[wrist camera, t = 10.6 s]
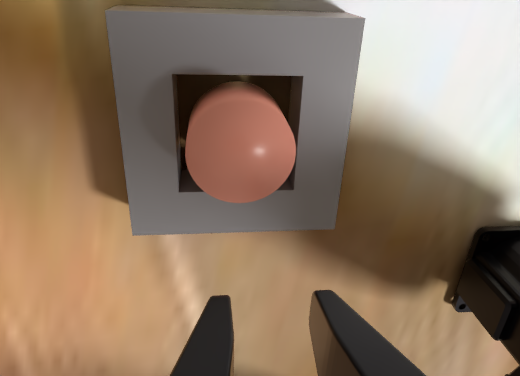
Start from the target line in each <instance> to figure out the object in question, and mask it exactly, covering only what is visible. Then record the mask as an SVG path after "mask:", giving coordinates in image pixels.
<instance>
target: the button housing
mask: <svg viewBox="0 0 520 376" xmlns="http://www.w3.org/2000/svg"><path fill="white" fill-rule="evenodd" d="M105 16H106V24H107V32H108V40H109V48H110V56H111V64H112V72H113V80H114V88H115V97H116V105H117V113H118V121H119V129H120V137H121V145H122V153H123V161H124V170H125V178H126V186H127V194H128V202H129V210H130V218H131V226H132V234H133V236H134V235H165V234H197V233H229V232H261V231H293V230H325V229H335V223H336V216H337V209H338V203H339V196H340V189H341V182H342V175H343V168H344V161H345V154H346V147H347V140H348V133H349V126H350V120H351V113H352V106H353V99H354V92H355V85H356V78H357V71H358V64H359V57H360V50H361V43H362V36H363V30H364V23H365V18H363V17H359V16H356V15H353V14H350V13H347V12H317V11H286V10H255V9H224V8H193V7H162V6H131V5H116V6H114V7H112V8H109V9H107V10H105ZM176 74H204V75H278V76H292V79H291V92H290V106H289V120H288V125H289V127H290V128H291V131H292V133H293V136H294V139H295V145H296V156H295V162H294V165H293V168H292V170H291V173H290V174H289V176H288V178H287V179H286V181H285V182H284V183H283V184H282V185H281V186H280V187H279V188H278V189H277V190H276V191H274V192H273V193H272V194H270V195H268V196H266V197H264V198H262V199H259V200H256V201H253V202H248V203H231V202H226V201H222V200H219V199H216V198H214V197H212V196H210V195H209V194H207V193H206V192H204V191H203V190H202V189H201V188H200V187H199V186H198V185H197V184H196V183H195V181H194V180H193V178H192V177H191V175H190V173H189V170H188V169H182V168H181V150H180V131H179V112H178V94H177V75H176Z"/></svg>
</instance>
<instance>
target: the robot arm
mask: <svg viewBox="0 0 520 376" xmlns="http://www.w3.org/2000/svg"><path fill="white" fill-rule="evenodd" d="M485 235H486V236H485ZM484 236H485V237H484ZM452 306H453V307H454V309H455V310H456V311H457V312H473V314H474V315H475V316H476V317H477V319H478V320H479V321H480V323H481V324H482V325H483V326H484V328H485V329H486V330H487V332H488V333H489V334H490V335H491V337H492V338H493V339H494V340H497V341H498V340H500V341H501V342H502V344H503V345H504V346H505V347H506V349H507V350H508V351H509V352H510V354H511V355H512V356H513V357H514V359H515V360H516V361H517V363H518V364H519V366H518V367H517V368H516V369H515V370H513V371H512V372H511V373H510V374H506V375H505V376H520V226H513V227H484V228H481V229H479V230H478V231H477V232H476V234H475V236H474V239H473V242H472V245H471V248H470V251H469V254H468V257H467V260H466V263H465V266H464V269H463V272H462V275H461V278H460V281H459V284H458V287H457V290H456V293H455V296H454V299H453V302H452ZM309 329H310V334H311V340H312V345H313V351H314V356H315V362H316V367H317V373H318V376H426V375H425V374H424V373H423V372H422V371H421V370H419V369H418V368H417V367H416V366H415V365H414V364H413V363H412V362H411V361H410V360H408V359H407V358H406V357H405V356H404V355H403V354H402V353H401V352H400V351H399V350H397V349H396V348H395V347H394V346H393V345H392V344H391V343H390V342H389V341H387V340H386V339H385V338H384V337H383V336H382V335H381V334H380V333H379V332H378V331H376V330H375V329H374V328H373V327H372V326H371V325H370V324H369V323H368V322H367V321H365V320H364V319H363V318H362V317H361V316H360V315H359V314H358V313H357V312H355V311H354V310H353V309H352V308H351V307H350V306H349V305H348V304H347V303H346V302H344V301H343V300H342V299H341V298H340V297H339V296H338V295H337V294H336V293H335V292H333V291H331V290H318V291H314V292H313V294H312V299H311V307H310V315H309ZM233 374H234V331H233V321H232V310H231V300H230V297H229V296H228V295H219V296H212V297H210V299H209V300H208V302H207V304H206V306H205V308H204V310H203V312H202V314H201V316H200V318H199V320H198V322H197V324H196V326H195V328H194V330H193V331H192V333H191V335H190V337H189V339H188V341H187V343H186V345H185V347H184V349H183V351H182V353H181V355H180V357H179V359H178V361H177V363H176V365H175V366H174V368H173V370H172V372H171V374H170V376H233Z"/></svg>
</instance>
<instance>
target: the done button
mask: <svg viewBox="0 0 520 376" xmlns="http://www.w3.org/2000/svg"><path fill="white" fill-rule="evenodd" d="M295 156H296V145H295V139H294V136H293V133H292V131H291V128H290V127H289V125H288V123H287V121H286V119H285V117H284V115H283V113H282V111H281V110H280V108H279V106H278V104H277V103H276V101H275V100H274V99H273V97H272V96H271V95H270V94H269V93H268V92H266V91H265V90H263V89H262V88H260V87H258V86H256V85H254V84H251V83H246V82H238V81H236V82H227V83H223V84H219V85H217V86H215V87H213V88H211V89H209V90H208V91H206V92H205V93H204V94H203V95H202V96H201V97H200V98H199V99H198V100H197V102H196V103H195V105H194V107H193V109H192V111H191V114H190V117H189V122H188V130H187V139H186V148H185V158H186V164H187V168H188V170H189V173H190V175H191V177H192V178H193V180H194V181H195V183H196V184H197V185H198V186H199V187H200V188H201V189H202V190H203V191H204V192H206V193H207V194H209V195H210V196H212V197H214V198H216V199H219V200H222V201H226V202H231V203H248V202H253V201H256V200H259V199H262V198H264V197H266V196H268V195H270V194H272V193H273V192H274V191H276V190H277V189H278V188H279V187H280V186H281V185H282V184H283V183H284V182H285V181H286V179H287V178H288V176H289V174H290V173H291V170H292V168H293V165H294V162H295Z"/></svg>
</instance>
